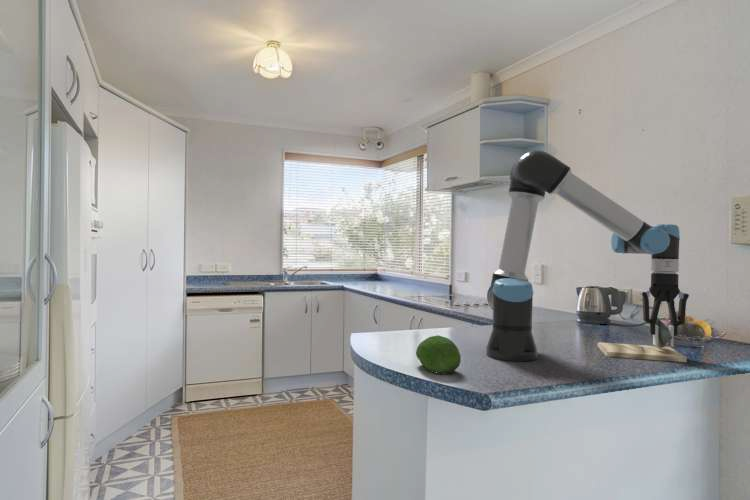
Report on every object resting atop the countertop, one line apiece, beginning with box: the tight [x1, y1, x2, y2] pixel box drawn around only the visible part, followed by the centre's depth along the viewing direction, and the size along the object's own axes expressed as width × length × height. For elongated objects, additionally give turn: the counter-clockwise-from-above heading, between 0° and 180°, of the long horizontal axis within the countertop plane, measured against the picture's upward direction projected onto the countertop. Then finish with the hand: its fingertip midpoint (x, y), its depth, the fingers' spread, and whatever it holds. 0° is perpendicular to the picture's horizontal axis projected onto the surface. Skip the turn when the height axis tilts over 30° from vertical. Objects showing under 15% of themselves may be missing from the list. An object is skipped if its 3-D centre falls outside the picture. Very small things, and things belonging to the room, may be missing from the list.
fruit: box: [415, 334, 462, 374], centre depth 126 cm, size 15×10×10 cm, turn 22°
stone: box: [656, 317, 673, 348], centre depth 151 cm, size 11×4×10 cm, turn 164°
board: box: [597, 341, 688, 363], centre depth 153 cm, size 22×16×2 cm
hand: (663, 345), depth 151 cm, fingers closed on stone, 4 cm apart
